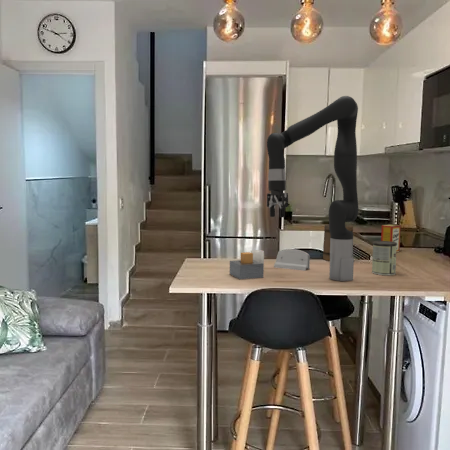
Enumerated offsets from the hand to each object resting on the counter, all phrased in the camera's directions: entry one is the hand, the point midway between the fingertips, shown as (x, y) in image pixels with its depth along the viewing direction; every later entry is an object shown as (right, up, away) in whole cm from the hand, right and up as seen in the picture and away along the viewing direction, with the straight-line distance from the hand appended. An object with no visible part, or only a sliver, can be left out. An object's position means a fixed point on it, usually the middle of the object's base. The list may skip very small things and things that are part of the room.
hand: (277, 217), depth 208 cm
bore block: (-14, -26, -3) cm, 29 cm away
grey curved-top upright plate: (+9, -24, +18) cm, 31 cm away
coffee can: (+48, -25, +6) cm, 55 cm away
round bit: (-8, -24, +10) cm, 28 cm away
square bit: (-14, -26, -3) cm, 29 cm away
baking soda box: (+74, -19, +71) cm, 104 cm away
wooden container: (+36, -22, +42) cm, 60 cm away
